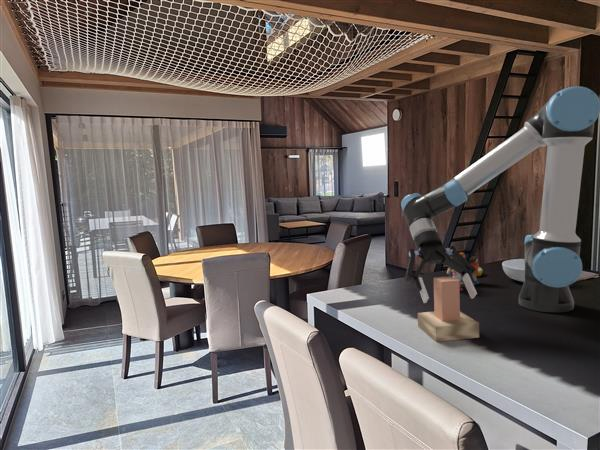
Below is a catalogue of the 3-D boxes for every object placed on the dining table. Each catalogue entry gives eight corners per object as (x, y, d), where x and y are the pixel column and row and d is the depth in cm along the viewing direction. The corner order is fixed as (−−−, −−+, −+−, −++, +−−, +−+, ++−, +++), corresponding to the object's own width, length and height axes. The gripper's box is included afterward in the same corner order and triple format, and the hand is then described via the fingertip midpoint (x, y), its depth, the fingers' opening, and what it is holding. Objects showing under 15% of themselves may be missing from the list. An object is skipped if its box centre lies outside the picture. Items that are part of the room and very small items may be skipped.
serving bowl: (498, 284, 156) (498, 267, 156) (506, 273, 173) (506, 257, 173) (562, 290, 144) (562, 271, 144) (564, 277, 161) (564, 260, 161)
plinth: (456, 322, 119) (456, 309, 119) (479, 337, 107) (479, 322, 107) (417, 326, 118) (417, 312, 117) (436, 341, 106) (435, 327, 106)
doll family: (456, 293, 148) (456, 258, 146) (433, 289, 155) (432, 256, 153) (482, 282, 162) (481, 249, 160) (459, 278, 169) (458, 247, 167)
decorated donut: (472, 279, 167) (472, 270, 167) (450, 275, 176) (450, 266, 176) (487, 274, 173) (487, 266, 173) (464, 271, 182) (464, 262, 182)
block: (451, 313, 115) (450, 276, 114) (460, 319, 110) (459, 280, 109) (434, 315, 114) (433, 277, 113) (442, 321, 109) (441, 281, 108)
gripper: (460, 241, 127) (488, 300, 113) (383, 247, 124) (402, 309, 111) (468, 226, 121) (499, 287, 108) (388, 232, 118) (409, 295, 105)
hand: (450, 298), depth 109 cm, fingers open, 13 cm apart
